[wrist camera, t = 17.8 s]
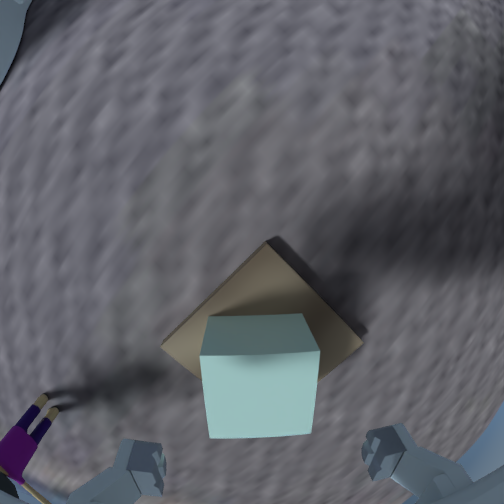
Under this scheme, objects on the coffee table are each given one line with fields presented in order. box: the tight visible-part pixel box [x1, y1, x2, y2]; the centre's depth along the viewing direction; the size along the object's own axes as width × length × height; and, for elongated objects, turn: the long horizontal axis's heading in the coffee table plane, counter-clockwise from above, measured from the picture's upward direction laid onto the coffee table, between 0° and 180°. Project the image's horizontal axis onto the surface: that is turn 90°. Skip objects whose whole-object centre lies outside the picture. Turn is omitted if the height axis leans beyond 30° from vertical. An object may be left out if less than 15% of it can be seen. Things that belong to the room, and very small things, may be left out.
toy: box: [0, 394, 59, 504], centre depth 15 cm, size 10×6×15 cm, turn 31°
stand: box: [160, 241, 363, 383], centre depth 19 cm, size 10×10×5 cm
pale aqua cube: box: [199, 313, 320, 438], centre depth 18 cm, size 6×6×5 cm
